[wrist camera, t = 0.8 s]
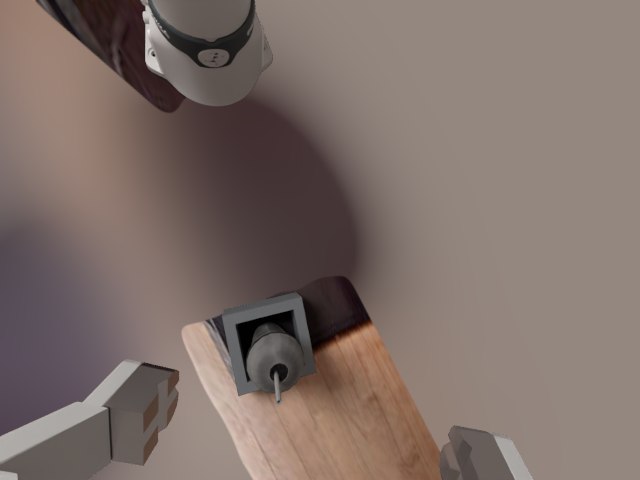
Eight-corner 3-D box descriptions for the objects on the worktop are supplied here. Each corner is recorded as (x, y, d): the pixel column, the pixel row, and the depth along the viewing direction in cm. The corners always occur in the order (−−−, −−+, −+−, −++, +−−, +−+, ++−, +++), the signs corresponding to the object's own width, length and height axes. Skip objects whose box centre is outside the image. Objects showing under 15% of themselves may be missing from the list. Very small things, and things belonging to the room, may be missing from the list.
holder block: (223, 309, 49) (222, 316, 45) (296, 292, 52) (301, 296, 47) (238, 381, 50) (238, 396, 45) (309, 360, 52) (316, 372, 48)
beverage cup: (298, 323, 52) (331, 368, 33) (278, 365, 51) (301, 438, 32) (257, 305, 51) (267, 342, 31) (236, 348, 50) (233, 414, 30)
